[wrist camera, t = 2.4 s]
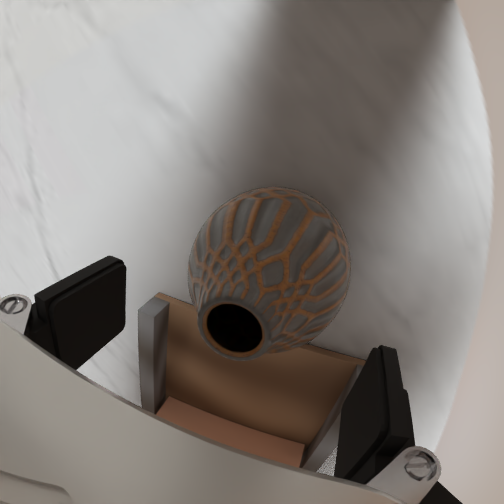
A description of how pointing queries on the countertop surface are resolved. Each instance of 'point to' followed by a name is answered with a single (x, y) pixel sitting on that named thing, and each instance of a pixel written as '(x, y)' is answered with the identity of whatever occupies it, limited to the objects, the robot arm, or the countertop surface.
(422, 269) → the countertop surface
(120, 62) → the countertop surface
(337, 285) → the vase
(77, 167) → the countertop surface
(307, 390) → the pusher lane
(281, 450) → the pusher plate
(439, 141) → the countertop surface
